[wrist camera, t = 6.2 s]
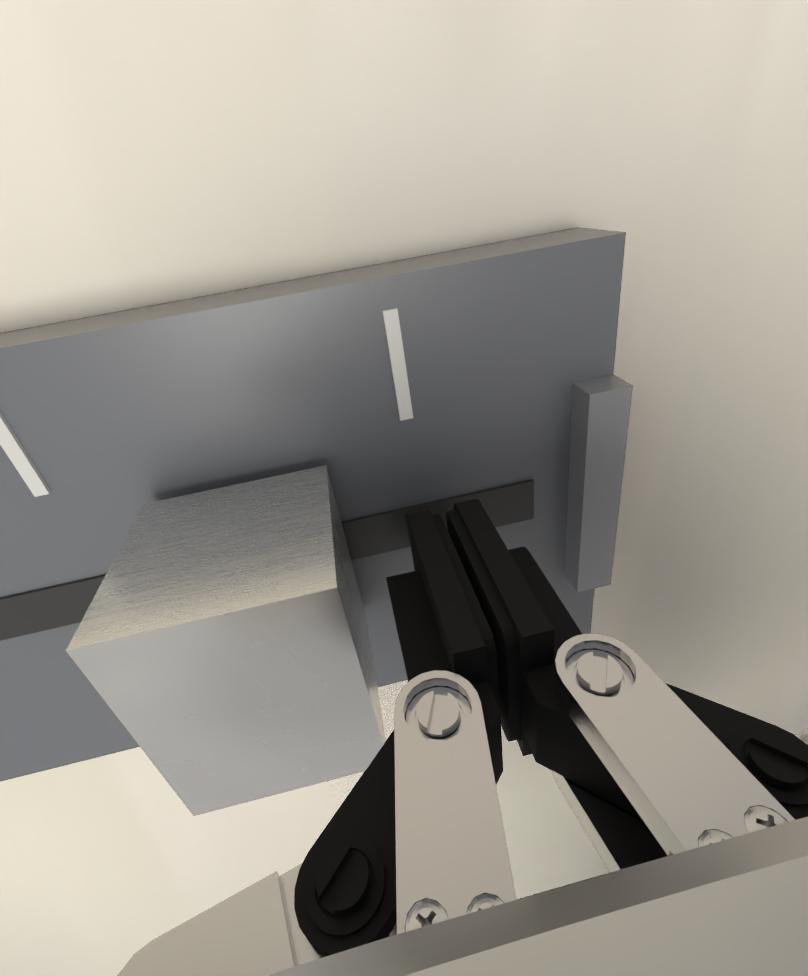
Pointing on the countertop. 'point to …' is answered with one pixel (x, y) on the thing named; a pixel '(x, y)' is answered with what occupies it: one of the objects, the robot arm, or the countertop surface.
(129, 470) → the fader console
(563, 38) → the countertop surface
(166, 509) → the fader knob
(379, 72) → the countertop surface
